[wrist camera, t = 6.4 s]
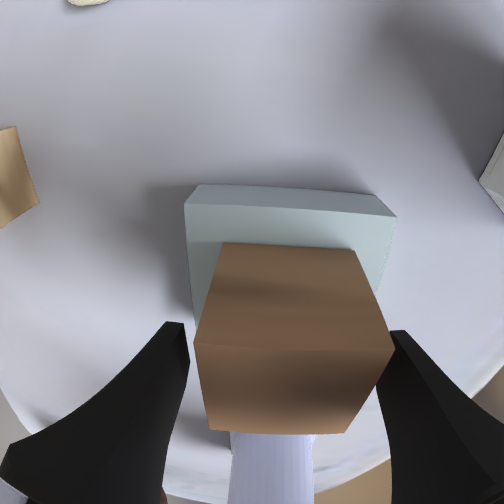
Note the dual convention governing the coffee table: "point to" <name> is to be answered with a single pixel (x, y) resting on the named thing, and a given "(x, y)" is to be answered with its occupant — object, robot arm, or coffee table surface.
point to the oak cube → (14, 179)
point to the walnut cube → (289, 340)
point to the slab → (282, 226)
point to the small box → (495, 176)
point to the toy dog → (86, 2)
